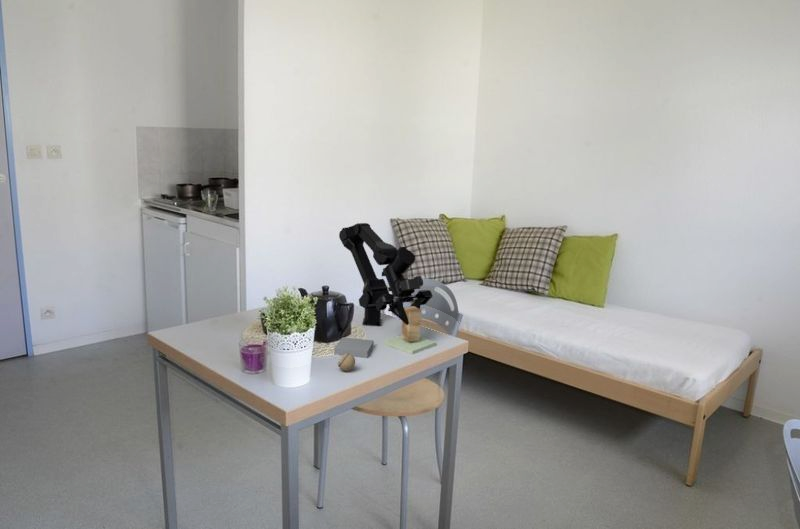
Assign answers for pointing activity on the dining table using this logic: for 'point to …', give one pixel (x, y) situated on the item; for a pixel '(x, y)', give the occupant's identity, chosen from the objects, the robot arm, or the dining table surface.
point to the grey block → (354, 347)
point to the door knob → (346, 362)
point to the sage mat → (409, 344)
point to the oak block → (411, 324)
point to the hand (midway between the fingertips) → (413, 323)
